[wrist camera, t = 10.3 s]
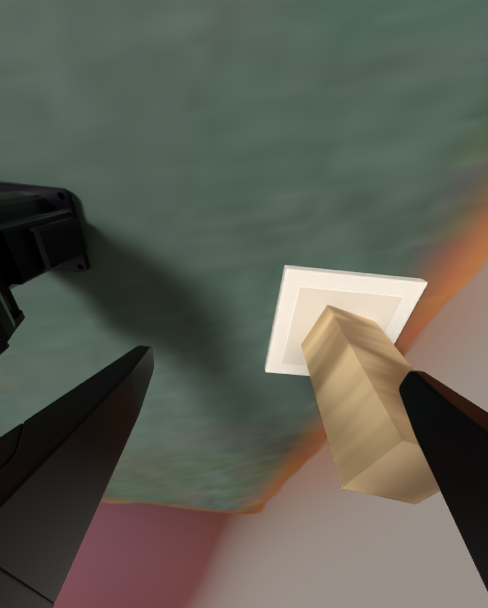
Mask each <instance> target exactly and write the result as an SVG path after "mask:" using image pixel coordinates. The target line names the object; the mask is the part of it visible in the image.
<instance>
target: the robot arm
mask: <svg viewBox="0 0 488 608" xmlns="http://www.w3.org/2000/svg"><path fill="white" fill-rule="evenodd" d="M61 193H62V194H64V196H65V199H64V198H63V197H62V196H61ZM80 264H81V265H83V267H84V268H83V267H81V265H80ZM53 269H54V270H64V271H74V272H85V271H87V270H88V269H89V263H88V259H87V255H86V248H85V244H84V241H83V237H82V233H81V229H80V225H79V221H78V220H77V216H76V212H75V208H74V204H73V200H72V196H71V194H70V192H69V191H68V190H66V189H64V188H57V187H48V186H38V185H29V184H20V183H10V182H1V181H0V355H1V354H2V353H3V352H4V351H5V350H6V349H7V348H8V347H9V344H8V342H7V341H8V340H9V339H10V338H11V336H12V334H13V333H14V331H15V330H16V329H17V327H18V326H19V325H20V324H21V322H22V321H23V320H24V318H25V316H24V314H23V312H22V310H19V307H18V305H17V303H16V301H15V299H14V297H13V295H12V292H11V290H10V289H12V288H14V287H16V286H18V285H21V284H24V283H26V282H28V281H30V280H32V279H34V278H36V277H38V276H40V275H41V274H43V273H45V272H47V271H51V270H53ZM153 369H154V360H153V352H152V348H151V347H150V346H141V345H140V346H137V347H135V348H134V349H132V350H131V351H129V352H128V353H126V354H125V355H123V356H122V357H120V358H119V359H117V360H116V361H114V362H113V363H111V364H110V365H108V366H107V367H105V368H104V369H102V370H101V371H99V372H98V373H96V374H95V375H93V376H92V377H90V378H89V379H87V380H86V381H84V382H83V383H81V384H80V385H78V386H77V387H75V388H74V389H72V390H71V391H69V392H68V393H66V394H65V395H63V396H62V397H60V398H59V399H57V400H56V401H54V402H53V403H51V404H50V405H48V406H47V407H45V408H44V409H42V410H41V411H39V412H38V413H36V414H35V415H33V416H32V417H30V418H29V419H27V420H26V421H25V422H24V424H20V425H18V426H17V427H15V428H14V429H12V430H11V431H9V432H8V433H6V434H5V435H3V436H1V437H0V608H53V606H54V602H55V601H56V599H57V597H58V595H59V592H60V590H61V588H62V586H63V583H64V581H65V579H66V577H67V574H68V572H69V570H70V568H71V565H72V563H73V561H74V559H75V557H76V554H77V552H78V550H79V548H80V545H81V543H82V541H83V539H84V536H85V534H86V532H87V530H88V527H89V525H90V523H91V521H92V519H93V516H94V514H95V512H96V509H97V507H98V505H99V503H100V501H101V498H102V496H103V494H104V492H105V489H106V487H107V485H108V483H109V481H110V478H111V476H112V474H113V472H114V469H115V467H116V465H117V463H118V460H119V458H120V456H121V454H122V451H123V449H124V447H125V445H126V442H127V440H128V438H129V436H130V434H131V431H132V429H133V427H134V425H135V422H136V420H137V418H138V415H139V413H140V410H141V407H142V404H143V401H144V398H145V395H146V392H147V389H148V385H149V382H150V379H151V376H152V373H153ZM399 393H400V396H401V399H402V402H403V404H404V407H405V410H406V413H407V415H408V418H409V421H410V424H411V427H412V429H413V432H414V434H415V437H416V439H417V441H418V444H419V446H420V448H421V450H422V452H423V454H424V457H425V459H426V461H427V463H428V465H429V467H430V469H431V472H432V474H433V476H434V478H435V480H436V482H437V484H438V487H439V489H440V491H441V493H442V495H443V497H444V499H445V501H446V504H447V506H448V508H449V510H450V512H451V514H452V516H453V518H454V521H455V523H456V525H457V527H458V529H459V531H460V533H461V536H462V538H463V540H464V542H465V544H466V546H467V549H468V551H469V553H470V555H471V557H472V559H473V561H474V564H475V566H476V568H477V570H478V572H479V574H480V576H481V578H482V580H483V583H484V585H485V587H486V589H487V591H488V412H486V411H484V410H483V409H481V408H480V407H478V406H477V405H475V404H473V403H472V402H470V401H469V400H467V399H466V398H464V397H463V396H461V395H459V394H458V393H456V392H455V391H453V390H452V389H450V388H449V387H447V386H445V385H444V384H442V383H441V382H439V381H438V380H436V379H435V378H433V377H431V376H430V375H428V374H427V373H425V372H422V371H414V370H412V371H409V372H408V373H407V375H406V376H405V378H404V379H403V381H402V382H401V384H400V386H399Z"/></svg>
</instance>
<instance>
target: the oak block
mask: <svg viewBox="0 0 488 608" xmlns="http://www.w3.org/2000/svg"><path fill="white" fill-rule="evenodd" d="M301 346H302V350H303V354H304V357H305V361H306V364H307V368H308V371H309V375H310V378H311V382H312V386H313V389H314V393H315V396H316V400H317V403H318V407H319V410H320V414H321V418H322V421H323V425H324V428H325V432H326V435H327V439H328V442H329V446H330V449H331V452H332V457H333V460H334V464H335V467H336V471H337V474H338V478H339V481H340V485H341V488H343V489H348V490H352V491H357V492H361V493H366V494H371V495H376V496H380V497H384V498H389V499H394V500H398V501H403V502H407V503H412V504H417V503H419V502H421V501H423V500H425V499H426V498H428V497H430V496H432V495H434V494H435V493H437V492H439V491H440V489H439V487H438V484H437V482H436V480H435V478H434V476H433V474H432V472H431V469H430V467H429V465H428V463H427V461H426V459H425V457H424V454H423V452H422V450H421V448H420V446H419V444H418V441H417V439H416V437H415V434H414V432H413V429H412V427H411V424H410V421H409V418H408V415H407V413H406V410H405V407H404V404H403V402H402V399H401V396H400V393H399V386H400V384H401V382H402V381H403V379H404V378H405V376H406V375H407V373H408V372H409V371H412V370H413V368H412V367H411V366H410V365H409V363H408V362H407V361H406V360H405V358H404V357H403V356H402V355H401V353H400V352H399V351H398V350H397V348H396V347H395V346H394V345H393V343H392V342H391V341H390V340H389V338H388V337H387V336H386V335H385V333H384V332H383V331H382V330H381V328H380V327H379V326H378V325H377V323H376V322H375V321H372V320H369V319H366V318H364V317H361V316H358V315H355V314H353V313H350V312H347V311H344V310H341V309H339V308H336V307H333V306H330V305H327V306H326V307H325V309H324V311H323V312H322V314H321V315H320V317H319V318H318V320H317V321H316V323H315V324H314V326H313V327H312V329H311V330H310V332H309V334H308V335H307V337H306V338H305V340H304V341H303V343H302V344H301Z"/></svg>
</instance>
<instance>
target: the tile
mask: <svg viewBox="0 0 488 608" xmlns="http://www.w3.org/2000/svg"><path fill="white" fill-rule="evenodd" d="M426 285H427V282H426V281H424V280H423V279H419V278H409V277H399V276H389V275H379V274H369V273H359V272H349V271H339V270H329V269H319V268H309V267H299V266H289V265H285V266H284V271H283V276H282V281H281V286H280V291H279V296H278V302H277V307H276V312H275V317H274V322H273V327H272V332H271V337H270V343H269V348H268V353H267V358H266V363H265V372H272V373H283V374H295V375H306V376H310V375H309V371H308V368H307V364H306V361H305V357H304V354H303V350H302V346H301V344H302V343H303V341H304V340H305V338H306V337H307V335H308V334H309V332H310V330H311V329H312V327H313V326H314V324H315V323H316V321H317V320H318V318H319V317H320V315H321V314H322V312H323V311H324V309H325V307H326V306H327V305H330V306H333V307H336V308H339V309H341V310H344V311H347V312H350V313H353V314H355V315H358V316H361V317H364V318H366V319H369V320H372V321H375V322H376V323H377V325H378V326H379V327H380V328H381V330H382V331H383V332H384V333H385V335H386V336H387V337H388V338H389V340H390V341H391V342H392V343H393V345H394V344H395V342H396V340H397V338H398V336H399V334H400V333H401V331H402V329H403V327H404V325H405V323H406V322H407V320H408V318H409V316H410V314H411V312H412V311H413V309H414V307H415V305H416V303H417V302H418V300H419V298H420V296H421V294H422V292H423V291H424V289H425V287H426Z"/></svg>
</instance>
